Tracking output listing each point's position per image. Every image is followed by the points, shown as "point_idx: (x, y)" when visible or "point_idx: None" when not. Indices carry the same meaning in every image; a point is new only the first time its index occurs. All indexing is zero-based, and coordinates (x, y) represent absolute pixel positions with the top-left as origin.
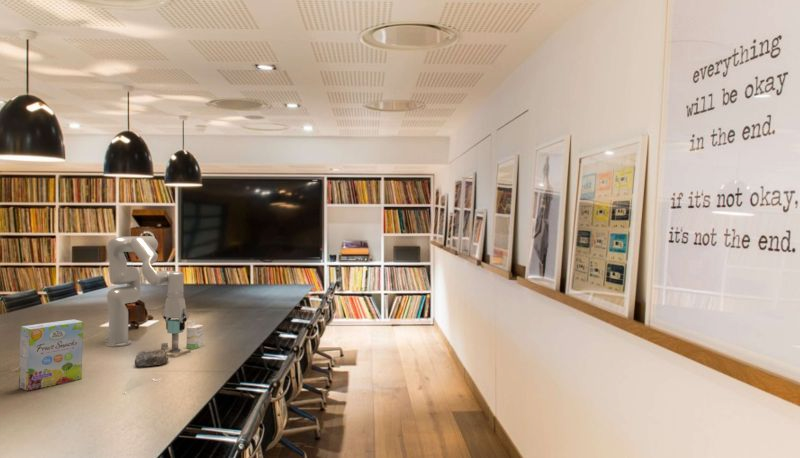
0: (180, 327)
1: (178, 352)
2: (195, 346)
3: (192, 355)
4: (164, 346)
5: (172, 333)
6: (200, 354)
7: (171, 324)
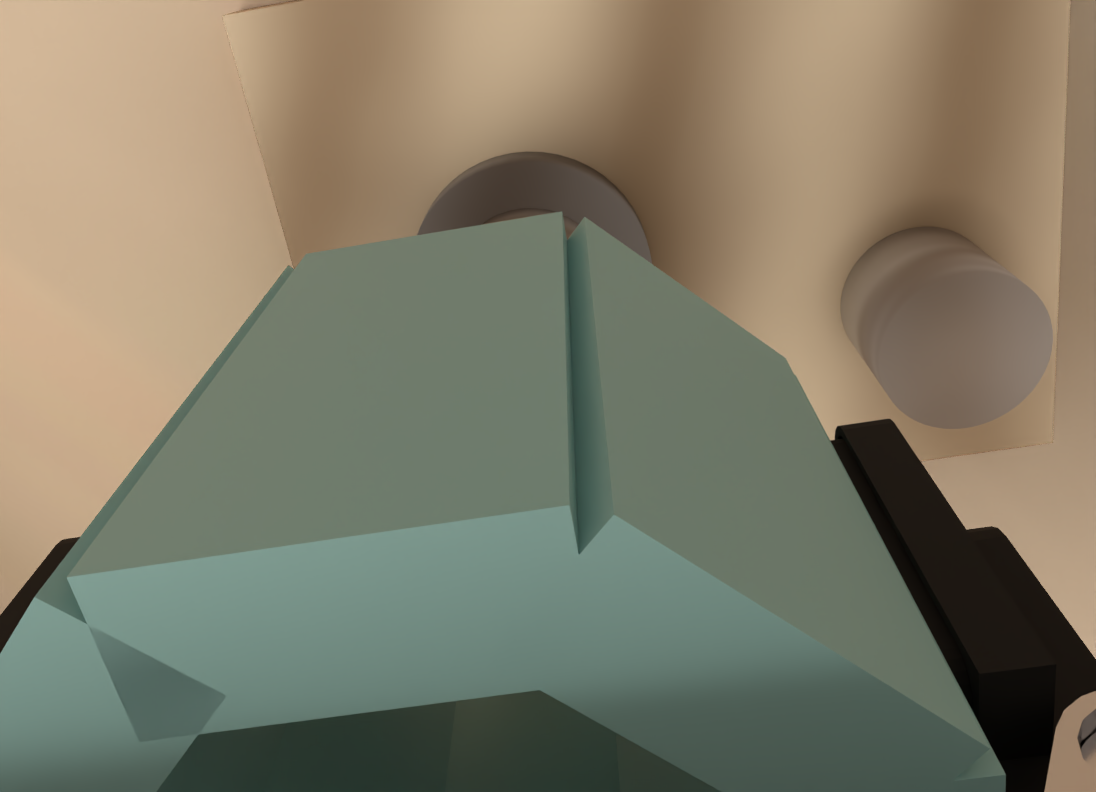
0: (2, 618)
1: (382, 239)
2: None
3: (95, 330)
4: (896, 278)
5: (330, 253)
6: (38, 459)
7: (274, 437)
